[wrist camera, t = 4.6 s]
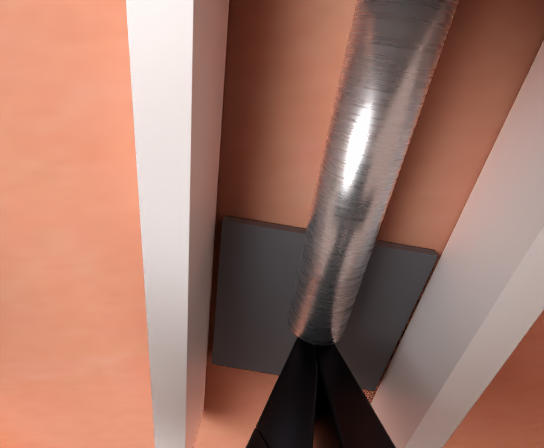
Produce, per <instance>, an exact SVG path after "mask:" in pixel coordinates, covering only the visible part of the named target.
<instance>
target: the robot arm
mask: <svg viewBox="0 0 544 448" xmlns="http://www.w3.org/2000/svg"><path fill="white" fill-rule="evenodd" d="M246 448H396V447H395V445H394V443H393V442H392V440H391V438H390V436H389V435H388V433H387V431H386V430H385V428H384V426H383V425H382V423H381V421H380V420H379V418H378V416H377V414H376V413H375V411H374V409H373V408H372V406H371V404H370V403H369V401H368V399H367V398H366V396H365V394H364V392H363V391H362V389H361V387H360V386H359V384H358V382H357V381H356V379H355V377H354V376H353V374H352V372H351V370H350V369H349V367H348V365H347V364H346V362H345V360H344V359H343V357H342V355H341V354H340V352H339V350H338V349H337V347H336V345H335V343H334V344H332V345H328V346H317V345H312V344H309V343H307V342H305V341H303V340H301V339H300V338H298V337H297V338H296V341H295V343H294V345H293V347H292V349H291V351H290V354H289V356H288V358H287V360H286V362H285V364H284V367H283V369H282V371H281V373H280V375H279V377H278V380H277V382H276V384H275V386H274V388H273V390H272V393H271V395H270V397H269V399H268V401H267V403H266V406H265V408H264V410H263V412H262V414H261V417H260V419H259V421H258V423H257V425H256V428H255V429H254V431H253V433H252V436H251V438H250V440H249V442H248V444H247V446H246Z"/></svg>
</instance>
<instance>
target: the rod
mask: <svg viewBox="0 0 544 448" xmlns="http://www.w3.org/2000/svg"><path fill="white" fill-rule="evenodd" d="M458 2H459V0H357V4H356V8H355V13H354V17H353V22H352V26H351V31H350V35H349V40H348V45H347V49H346V54H345V58H344V63H343V67H342V72H341V76H340V81H339V85H338V90H337V94H336V99H335V103H334V108H333V112H332V117H331V121H330V126H329V130H328V135H327V139H326V144H325V148H324V153H323V157H322V162H321V166H320V171H319V176H318V180H317V185H316V189H315V194H314V198H313V203H312V207H311V212H310V216H309V221H308V225H307V230H306V234H305V239H304V243H303V248H302V252H301V257H300V261H299V266H298V270H297V275H296V279H295V284H294V288H293V293H292V297H291V302H290V306H289V311H288V316H287V322H288V325H289V327H290V329H291V331H292V332H293V333H294V334H295V335H296V336H297V337H298V338H300V339H301V340H303V341H305V342H307V343H309V344H312V345H317V346H328V345H332V344H334V343H336V342H338V341H339V340H340V339H341V337H342V336H343V333H344V330H345V327H346V324H347V322H348V319H349V316H350V313H351V310H352V307H353V304H354V301H355V299H356V296H357V293H358V290H359V287H360V284H361V281H362V278H363V275H364V273H365V270H366V267H367V264H368V261H369V258H370V255H371V252H372V250H373V247H374V244H375V241H376V238H377V235H378V232H379V229H380V227H381V224H382V221H383V218H384V215H385V212H386V209H387V206H388V204H389V201H390V198H391V195H392V192H393V189H394V186H395V183H396V181H397V178H398V175H399V172H400V169H401V166H402V163H403V160H404V158H405V155H406V152H407V149H408V146H409V143H410V140H411V137H412V135H413V132H414V129H415V126H416V123H417V120H418V117H419V114H420V112H421V109H422V106H423V103H424V100H425V97H426V94H427V91H428V89H429V86H430V83H431V80H432V77H433V74H434V71H435V68H436V66H437V63H438V60H439V57H440V54H441V51H442V48H443V45H444V43H445V40H446V37H447V34H448V31H449V28H450V25H451V22H452V20H453V17H454V14H455V11H456V8H457V5H458Z"/></svg>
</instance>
